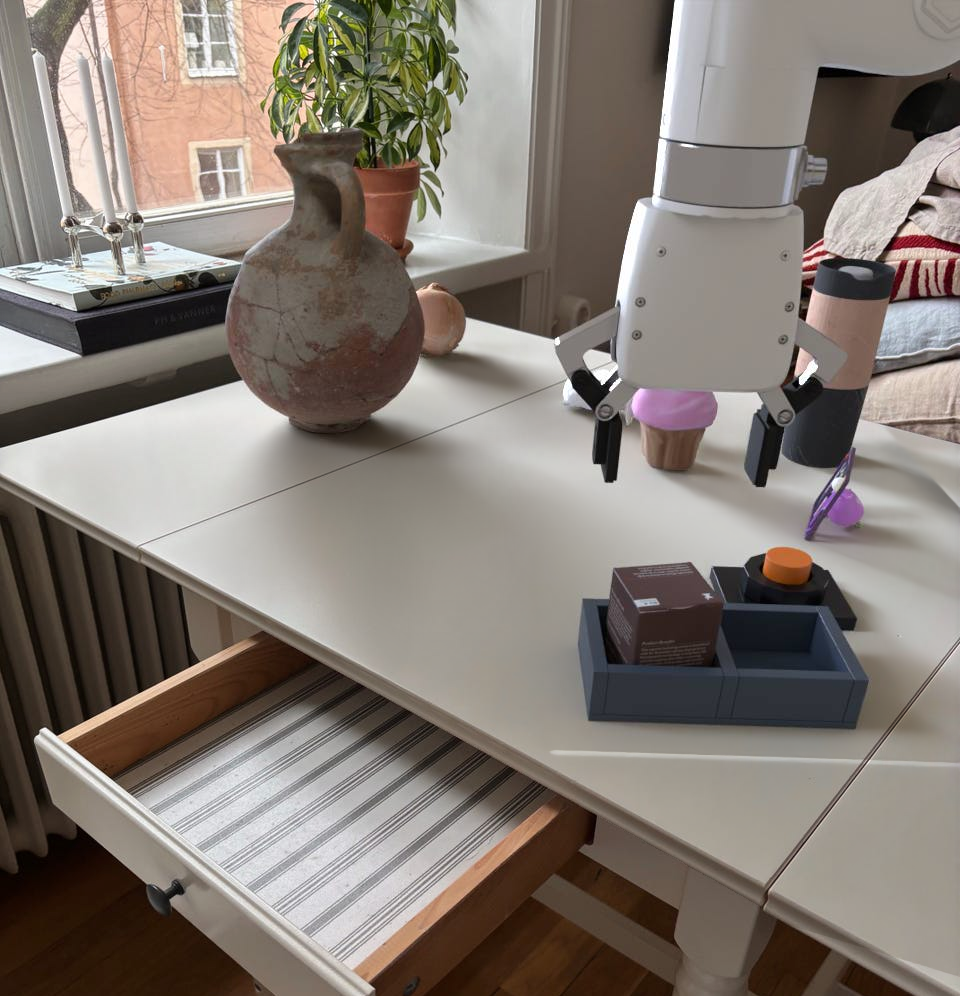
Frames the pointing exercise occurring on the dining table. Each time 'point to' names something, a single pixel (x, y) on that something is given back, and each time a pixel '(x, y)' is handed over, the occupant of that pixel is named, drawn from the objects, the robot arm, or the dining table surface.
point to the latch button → (787, 565)
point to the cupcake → (673, 425)
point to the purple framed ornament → (837, 499)
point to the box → (662, 617)
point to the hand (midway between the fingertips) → (681, 476)
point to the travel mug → (857, 330)
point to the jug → (324, 299)
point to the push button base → (781, 589)
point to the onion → (441, 320)
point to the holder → (733, 673)
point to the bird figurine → (575, 400)
